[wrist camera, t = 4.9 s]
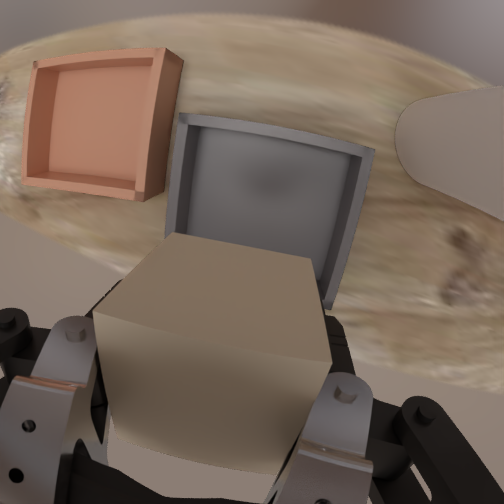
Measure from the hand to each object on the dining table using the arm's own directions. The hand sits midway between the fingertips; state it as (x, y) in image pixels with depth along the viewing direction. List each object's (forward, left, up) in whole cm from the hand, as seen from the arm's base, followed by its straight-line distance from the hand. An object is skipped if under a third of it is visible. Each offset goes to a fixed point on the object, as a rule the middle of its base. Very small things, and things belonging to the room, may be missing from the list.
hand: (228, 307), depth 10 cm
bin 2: (0, 0, -17) cm, 17 cm away
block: (0, 0, 0) cm, 0 cm away
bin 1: (+16, -5, -17) cm, 24 cm away
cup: (-14, -9, -17) cm, 24 cm away
